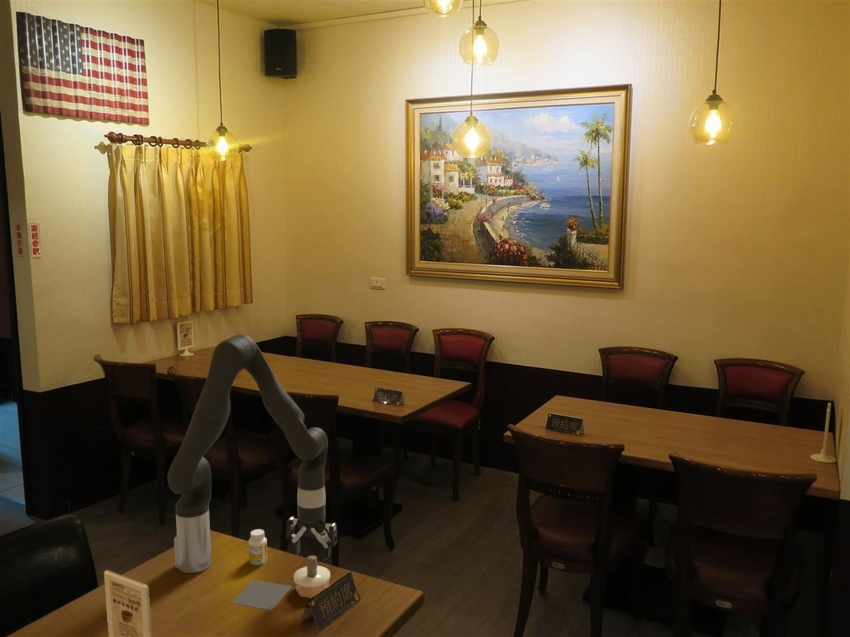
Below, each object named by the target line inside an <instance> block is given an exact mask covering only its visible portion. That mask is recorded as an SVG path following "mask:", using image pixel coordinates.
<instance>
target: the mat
mask: <svg viewBox="0 0 850 637" xmlns="http://www.w3.org/2000/svg"><path fill="white" fill-rule="evenodd" d="M291 588H293V586H291V585H285V584H280V583H275V582H274V583H273V582H269V581H262V580H257V579H253V580H252V581H251V582H250V583H249V584H248V585H247V586H246V587H245V588H244V589H243V590H242V591H241V592H240V593H239V594H238V595H237V596H236V597H235V598H234V600H232V601H231V604H234V605H239V606H245V607H250V608H256V609H262V610H267V611H272V610H274V609H275V607H276V606H277V605H278V604H279V602H281V600H282V599H283V598H284V597H285V596H286V594H287V593H288V592H289V591H290V590H291Z"/></svg>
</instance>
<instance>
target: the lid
mask: <svg viewBox="0 0 850 637" xmlns="http://www.w3.org/2000/svg"><path fill="white" fill-rule="evenodd" d="M330 579H331V571H330V570H329V568H327V567H325V566H322V565H318V557H317V556H316V555H308V556H307V557H306V566H304V567H300V568H299V569H297V570H296V571H295V572H294V574H293V581H294V583H295V585H296V584H297V585H299V586H302V587H318V586H321V585H323V584H325V583H327V582H328V581H329V582H330Z"/></svg>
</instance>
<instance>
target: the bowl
mask: <svg viewBox="0 0 850 637" xmlns="http://www.w3.org/2000/svg"><path fill="white" fill-rule="evenodd" d="M328 586H329V587H330V580H329V581H328V582H327V583H325V584H323V585H321V586H318V587H302V586H299V585H297V584H296V583H295V591H296V592H297V594H298V595H299V596H300V597H303V598H310V599H313V598H312V597H314V596H315V595H317V594H318V593H320V592H321V591H322V590H324V589H325V588H326V587H328ZM314 598H315V597H314Z"/></svg>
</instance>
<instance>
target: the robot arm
mask: <svg viewBox="0 0 850 637" xmlns="http://www.w3.org/2000/svg"><path fill="white" fill-rule="evenodd" d="M210 361H211V362H210V365H209V367H208V368H209V369H208V372H207V377H206V380H205V383H204V385H203V388H202V390H201V393H200V396H199V399H198V402H197V403H196V406H195V408H194V411H193V414H192V416H191V419H190V423H189V425H188V427H187V429H186V430H187V431H186V433H185V434H184V435H185V436H184V437H183V440H182V443H181V445H180V446H179V450H178V451H177V454H176V455H175V456H174V458H173V461H172V462H171V463H170V464H171V465H170V467H169V469H168V471H167V483H168V487H169V489H170V490H171V491H172V493H174V494H177V495H182V496H180V498H179V499H178V500H177V502H176V504H175V521H176V522H175V523H176V524H175V526H176V535H175V537H174V538H173V544H174V562H175V563H174V564H175V568H176V569H178V570H179V571H181V573H185V574H196V573H201V572H203V571H205V570H207V569H209V568H210V567H211V565H212V552H211V551H212V549H211V528H210V502H211V500H212V469H211V465H210V463H209V461H208V459H207V458H205V457H204V456H205V454H206V453H207V452H208V450H210V449H211V448H212V446H213V445H214V444H215V442H217V440H218V439H219V437H220V436H221V434H222V433H223V431H224V429H225V426H226V425H227V422H228V419H229V417H230V414H231V400H230V399H231V398H230V392H231V388H232V387H233V384H234V382H235V380H236V378H237V376H238V374H240V372H242V371H243V370H245V371H246V372H247V373H248V374H250V377H252V378H253V379H254V381H255V383H256V385H257V388H258V390H259V393H260V396H261V399H262V402H263V405H264V407H265V409H266V411H267V412H268V414H269V415H270V416H271V418H272V419H273V420H274V422H276V424H277V425H278V426H279V428H281V429H282V431H283V434H284V436H285V438H286V440H287V442H288V444H289V446H290V448H291V450H292V451H293V452H294V454H295V455H296V456H297V457H298V458H299V459H301V460H302V461H301V462H302V463H301V464H300V466H299V468H298V473H297V483H298V485H297V498H296V500H297V518H295V516H294V515H291V516H290V517H289V518H288V519H287V520H286V528H285V529H286V533H285V539H286V540H290V541H291V542H292V552H293V553H294V556H298V555H299V554H300V553H301V539H300V538H301V537H302V536H304V537H305V538H312V539H317V541H318V542H319V543H321V545H322V546H323V547H322V548H323V551H322V554H323V555H322V558H323V561H327V560H328V559H329V558H330V556H331V548H333V547H335V545H336V544H338V530H337V523H336V522H332V523H327V522H326V502H327V501H326V498H327V497H326V488H325V486H326V485H325V466H326V462H327V456H328V451H329V450H328V449H329V441H328V440H329V439H328V435H327V434H326V432H325V431H324V429H322V428H320V427H315V426H313V427H310V428H307V427H306V425H305V423H304V421H305V414H304V412H303V410H302V409H301V408H300V407H299V406H298V405H297V404H296V402H295V401H294V399H293V398H292V397H291V396H290V395H289V394H288V392H287V391H286V390H285V389H284V387H283V385H282V384H281V382H280V381H279V379H278V378H277V376H276V375H275V373H274V371H273V369H272V367H271V366H270V364H269V362H268V360H267V359H266V358H265V356H264V353H263V352H262V351H261V349H260V348H259V346H258V344H257V343H256V341H254V339H253V338H252V337H251V336H250V335H247V334H242V333H241V334H236V335H234V336H231V337H229V338H228V337H227V338H226V339H224V340H222V341H220V342H219V343H218V344H217V345H216V347H215V348H214V351H213V354H212V356H211V360H210ZM296 525H297V527H298V529H299V531H298V532H297V533H296V534H295V526H296ZM326 530H327V531H326ZM328 534H329V535H328Z"/></svg>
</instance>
